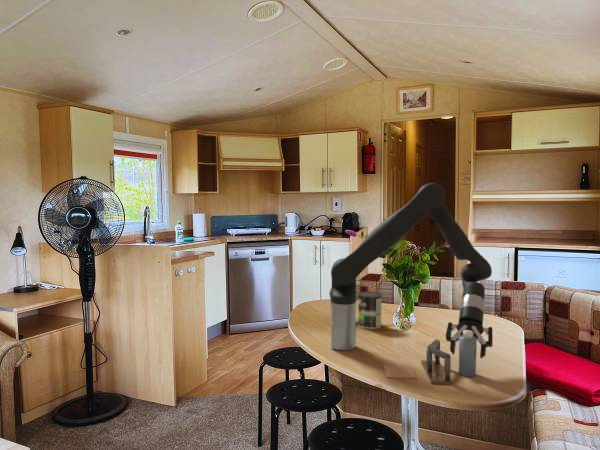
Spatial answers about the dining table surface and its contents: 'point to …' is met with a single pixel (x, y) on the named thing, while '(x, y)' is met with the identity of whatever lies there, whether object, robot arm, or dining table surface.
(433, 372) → the dark grey frame
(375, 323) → the coffee can
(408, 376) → the mat
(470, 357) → the bottle
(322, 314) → the dining table surface
